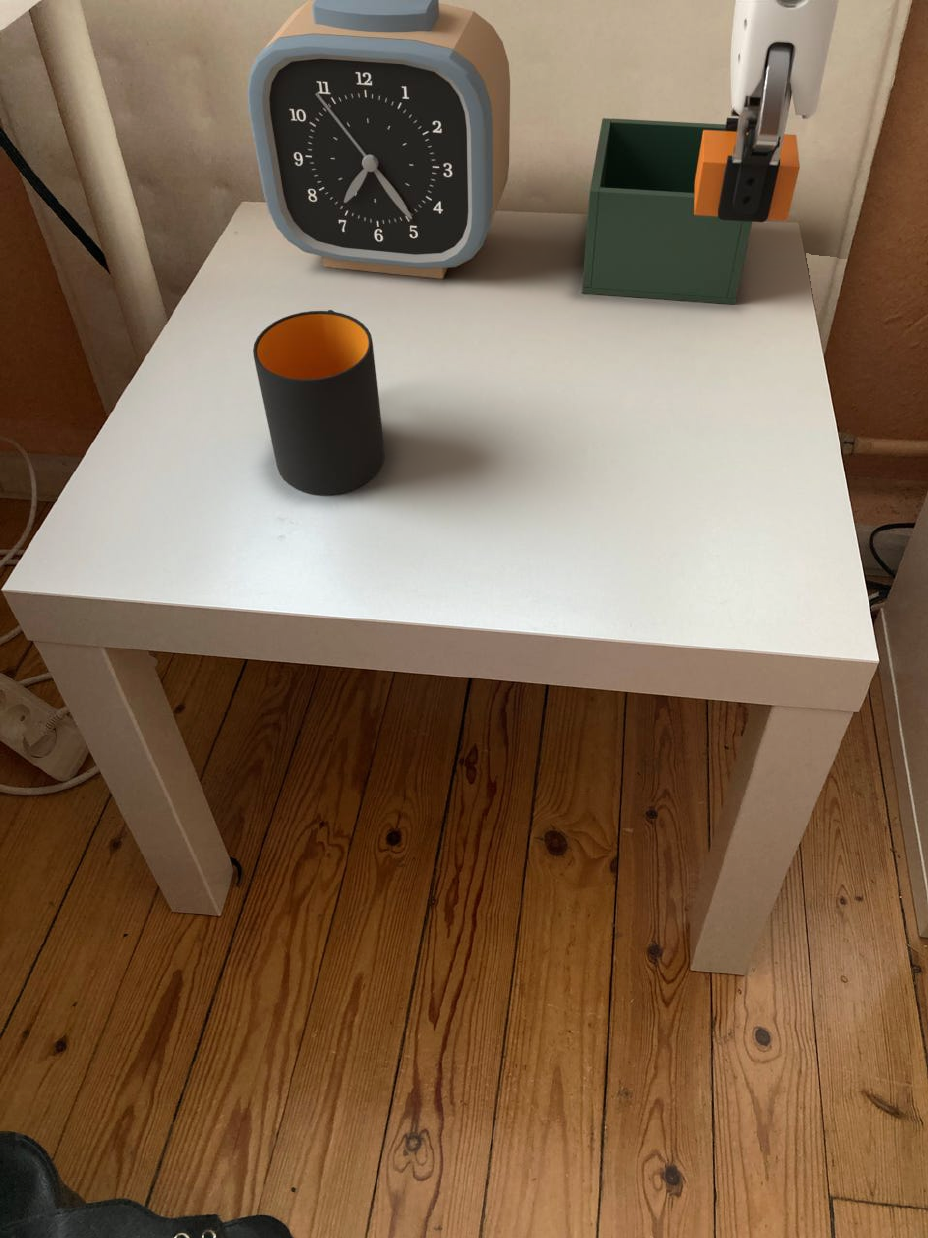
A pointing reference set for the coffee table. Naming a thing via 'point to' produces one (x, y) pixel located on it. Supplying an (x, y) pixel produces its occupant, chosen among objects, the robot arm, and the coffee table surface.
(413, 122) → the alarm clock
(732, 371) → the coffee table surface
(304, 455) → the mug
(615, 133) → the bin
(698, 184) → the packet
